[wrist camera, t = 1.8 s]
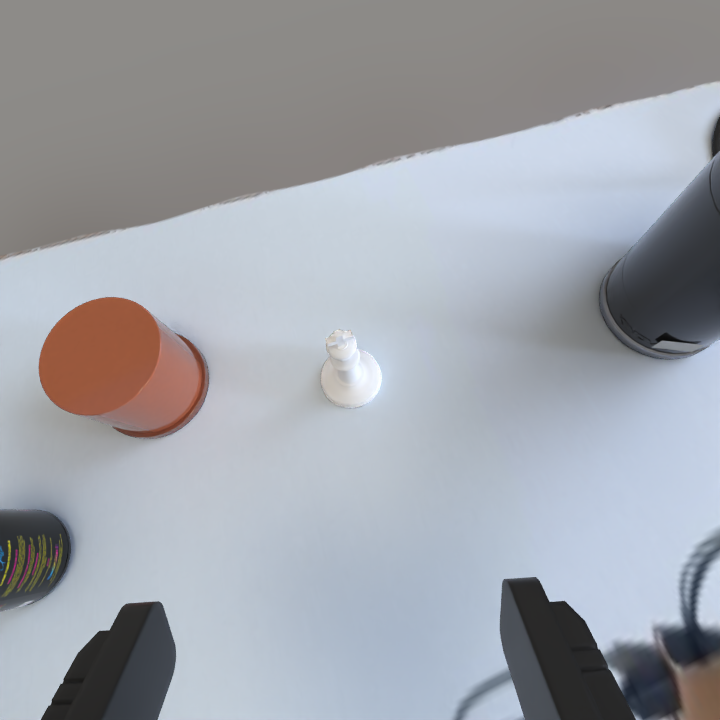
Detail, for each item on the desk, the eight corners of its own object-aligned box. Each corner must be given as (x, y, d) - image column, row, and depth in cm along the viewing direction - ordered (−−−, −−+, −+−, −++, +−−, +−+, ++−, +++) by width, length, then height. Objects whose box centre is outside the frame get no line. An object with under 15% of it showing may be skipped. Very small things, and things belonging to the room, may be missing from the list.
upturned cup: (161, 314, 41) (109, 269, 34) (231, 379, 39) (192, 346, 31) (81, 390, 40) (7, 360, 32) (149, 462, 37) (87, 449, 30)
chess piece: (313, 360, 39) (288, 311, 30) (370, 342, 39) (363, 286, 30) (331, 416, 37) (310, 382, 28) (389, 396, 38) (389, 356, 28)
